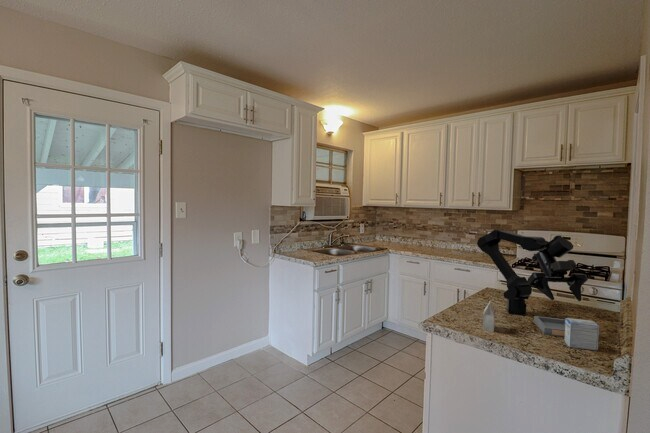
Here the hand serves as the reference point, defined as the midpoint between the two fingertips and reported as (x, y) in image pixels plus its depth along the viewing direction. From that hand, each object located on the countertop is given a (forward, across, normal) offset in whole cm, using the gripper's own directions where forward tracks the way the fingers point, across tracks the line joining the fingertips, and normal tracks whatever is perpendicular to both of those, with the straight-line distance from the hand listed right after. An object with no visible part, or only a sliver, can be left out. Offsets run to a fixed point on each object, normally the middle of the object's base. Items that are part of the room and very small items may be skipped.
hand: (566, 300), depth 114 cm
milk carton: (+6, -24, +13) cm, 28 cm away
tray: (+5, +1, +14) cm, 15 cm away
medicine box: (+15, 0, +4) cm, 16 cm away
